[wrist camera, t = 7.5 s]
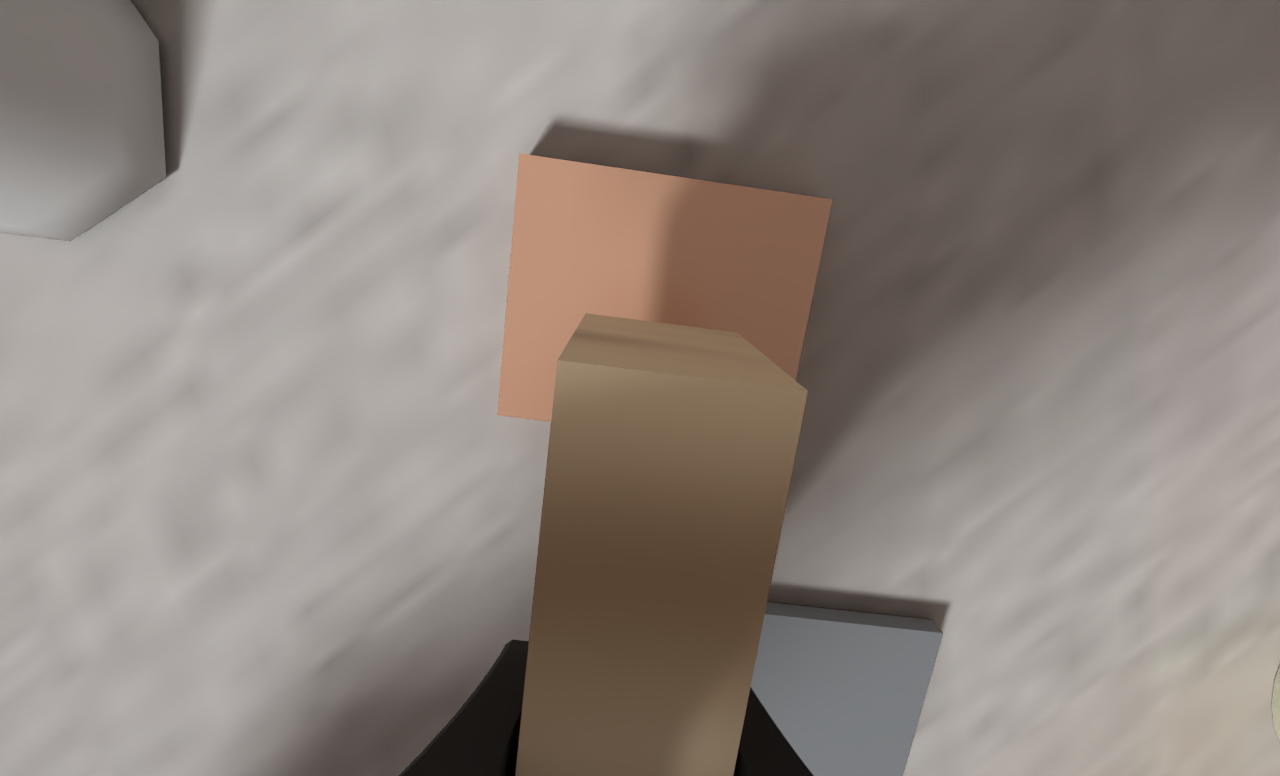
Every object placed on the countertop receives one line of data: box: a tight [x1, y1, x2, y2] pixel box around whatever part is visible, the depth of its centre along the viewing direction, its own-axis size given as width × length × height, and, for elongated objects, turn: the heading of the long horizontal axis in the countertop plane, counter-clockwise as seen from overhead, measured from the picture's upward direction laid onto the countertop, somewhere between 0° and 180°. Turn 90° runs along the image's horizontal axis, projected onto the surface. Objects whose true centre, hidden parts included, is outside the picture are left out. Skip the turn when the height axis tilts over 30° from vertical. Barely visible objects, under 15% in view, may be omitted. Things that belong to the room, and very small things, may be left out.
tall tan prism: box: [515, 313, 808, 776], centre depth 11 cm, size 10×3×5 cm, turn 173°
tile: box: [497, 153, 833, 422], centre depth 15 cm, size 2×7×6 cm
